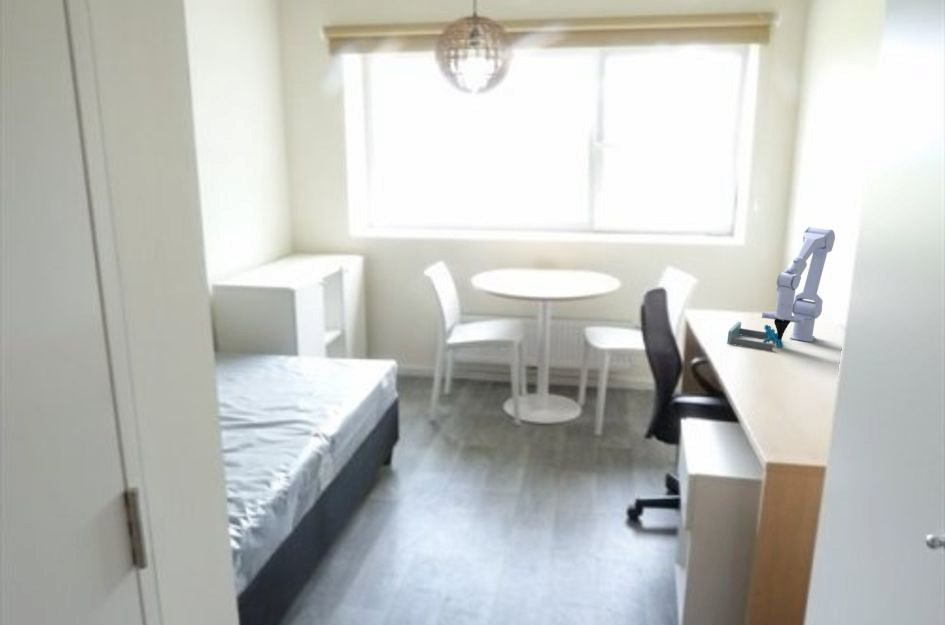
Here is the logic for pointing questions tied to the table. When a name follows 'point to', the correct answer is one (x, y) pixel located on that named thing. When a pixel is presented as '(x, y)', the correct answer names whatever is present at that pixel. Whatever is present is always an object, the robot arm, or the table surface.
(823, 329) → the table surface
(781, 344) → the gear
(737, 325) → the grey open frame
